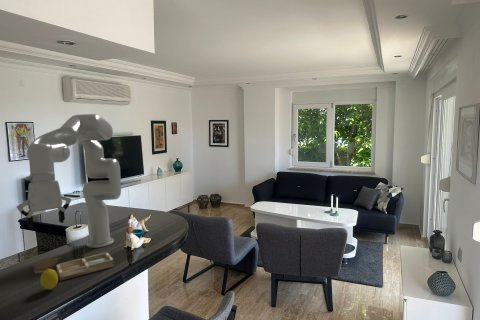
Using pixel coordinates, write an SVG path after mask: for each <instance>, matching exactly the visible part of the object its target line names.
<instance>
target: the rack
mask: <svg viewBox="0 0 480 320" xmlns="http://www.w3.org/2000/svg"><path fill="white" fill-rule="evenodd" d="M114 260H115V259H114V258H113V257H112V255H111V254H109V252H108V251H105V252H102V253H98V254H94V255H90V256H86V257H82V258H77V259H73V260H69V261H64V262H60V263H57V264H56V265H55V266H56V273H57V275H58V279H60V281H65V280H68V279H72V278H76V277H80V276H84V275H88V274H90V273H91V274H92V273H94V272H98V271H102V270H106V269H110V268H113V267H115V261H114Z"/></svg>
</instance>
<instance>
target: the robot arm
mask: <svg viewBox="0 0 480 320" xmlns="http://www.w3.org/2000/svg"><path fill="white" fill-rule="evenodd" d="M113 133H114V132H113V127H112V125H111V124H110V123H109V122H108V121H107V120H106V119H105V118H104V117H102V116H100V115H98V114H95V113H89V114H87V113H84V114H73V115H72V116H71V117H69V118H68V119H67V120H66V121H65V123H64V124H62V125H61V126H60V127H59V128H56V129H54V130H51V131H49V132H46V133H43V134H42V135H40V136H38V137H37V138H35V139H34V140H33V141H32V142H31V143H30V144H29V146H28V148H27V150H26V157H27V159H28V162H29V175H27V176H26V177H25V180H26V181H30V182H29V183H28V189H27V191H28V192H27V199H26V200H25V201H23V202H22V203H19V204H18V205H17V206H16V209H17V210H18V212H19V213H20V214H21V215H23V216H25V217H26V221H27V227H29V228H30V229H32V230H33V229H34V228H35V226H34V217H33V215H34V214H35V212H36V213H37V212H43V211H49V210H56V209H57V210H59V211H58V213H57V214H58V222H60V223H61V224H63V223H65V220H66V218H65V216H66V215H65V214H66V213H65V212H66V210H67V209H68V208H69V206H70V204H71V202H72V199H71V198H69V197H67V196H63V195H62V192H61V187H60V185H59V180H56V176H55V175H56V174H55V163H63V162H65V161H67V160H68V159H69V158H70V156H71V149H70V148H69V146H73V145H75V144H77V142H78V141H79V142H80V144H81V145H82V148H83V149H84V160H85V161H84V162H85V164H84V165H85V174H86V176H87V177H88V178H90V179H106V178H107V179H108V180H91V181H88V182H86V183H84V185H83V186H82V195H83V198H84V201H85V205H86V206H85V207H86V215H87V227H88V228H87V229H88V234H89V236H88V237H89V240H88V241H87V243H86V247H88V248H90V249H91V248H92V249H93V248H94V249H98V248H103V247H107V246H109V245H112V244H113V243H114V241H115V239H114V238H113V237H111V234H110V233H111V230H110V220H109V209H108V206H107V204H106V203H105V202H104V201H112V200H113V201H114V200H118V199H119V198H120V197H121V193H122V185H121V184H122V179H121V166H120V163H119V161H118V160H117V159H116V158H111V157H110V158H105V154H104V147H103V145H102V144H101V143H100V142H99V141H108V140H111V138H112V137H113ZM63 201H65V203H63ZM26 206H28V209H29V210H28V211H26V210H25V209H24V208H25V207H26Z"/></svg>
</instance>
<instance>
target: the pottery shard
mask: <svg viewBox="0 0 480 320" xmlns="http://www.w3.org/2000/svg"><path fill="white" fill-rule="evenodd" d="M62 259H63V257H61V256H60V257H51V258H50V257H49V258H46V259H43V260H41V261H39V262H36V263H34V265H33V266H32V268H33V273H34V274H42V273H43V272H44V271H45V270H47V269H52V268H53V267H54V266H56V264H58V263H59V262H60V261H62Z"/></svg>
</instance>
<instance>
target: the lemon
mask: <svg viewBox="0 0 480 320" xmlns="http://www.w3.org/2000/svg"><path fill="white" fill-rule="evenodd" d="M39 281H40V285H41V287H42V288H43V289H44V290H45V289H46V290H49V291H51V290H52V289H54V288H55V287H56V286H57V285H58V283H59V282H58V281H59V275H58V273H57V270H54V269H52V268H50V269H47V270H45V271H44V272H43V273H41V275H40V280H39Z"/></svg>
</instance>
